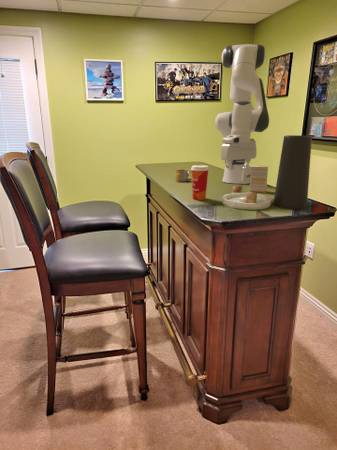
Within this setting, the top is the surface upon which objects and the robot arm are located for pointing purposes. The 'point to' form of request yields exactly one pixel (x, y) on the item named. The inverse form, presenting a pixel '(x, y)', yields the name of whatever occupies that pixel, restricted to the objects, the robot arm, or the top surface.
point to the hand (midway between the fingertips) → (238, 169)
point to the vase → (293, 173)
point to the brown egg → (236, 189)
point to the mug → (182, 176)
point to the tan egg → (251, 197)
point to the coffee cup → (199, 181)
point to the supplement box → (258, 178)
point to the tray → (240, 201)
